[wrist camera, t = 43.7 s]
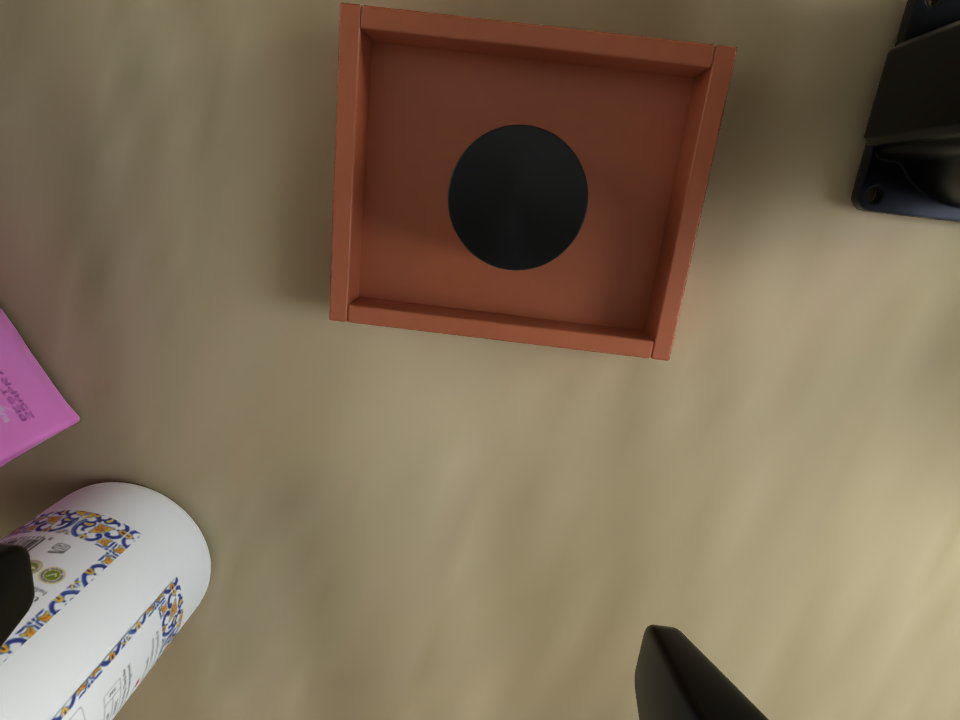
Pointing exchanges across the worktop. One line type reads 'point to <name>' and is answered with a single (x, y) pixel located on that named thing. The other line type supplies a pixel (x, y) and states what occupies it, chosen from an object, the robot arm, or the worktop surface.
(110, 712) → the bath foam
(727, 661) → the worktop surface
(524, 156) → the cap
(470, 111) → the tray
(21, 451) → the gum box
